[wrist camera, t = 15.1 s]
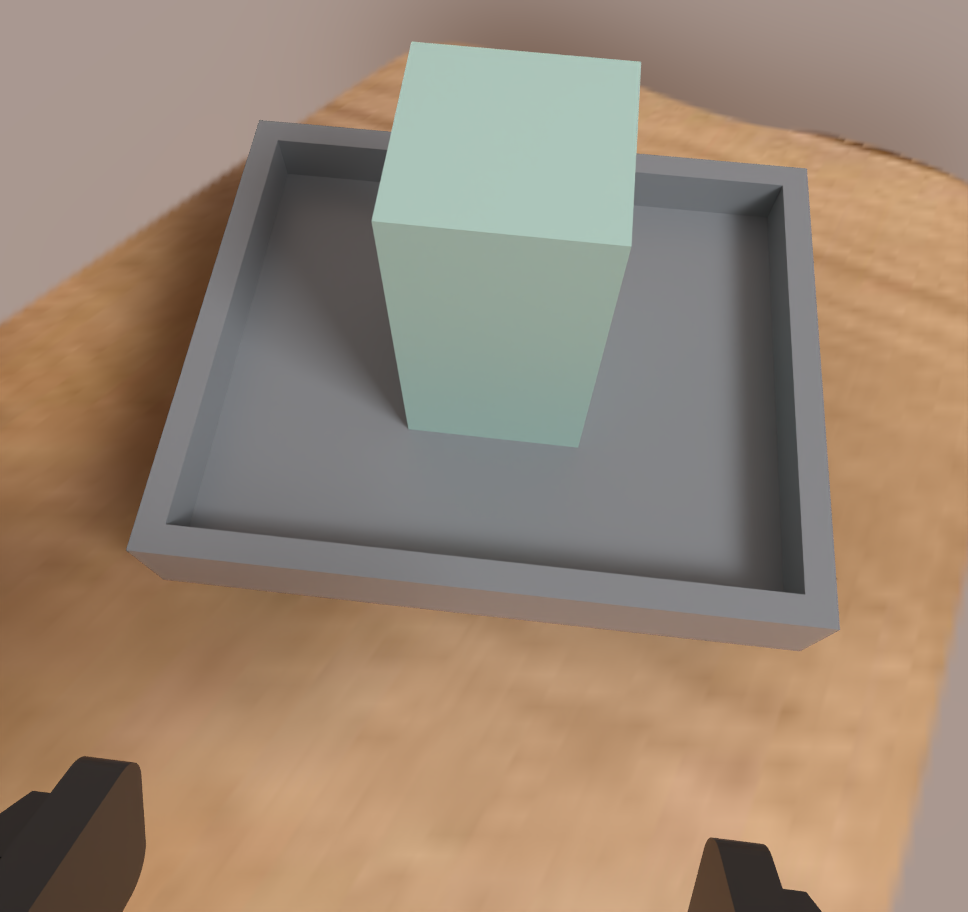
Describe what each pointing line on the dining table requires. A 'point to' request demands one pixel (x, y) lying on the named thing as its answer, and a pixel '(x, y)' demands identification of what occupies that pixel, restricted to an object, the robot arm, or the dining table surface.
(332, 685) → the dining table surface
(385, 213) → the sage part block
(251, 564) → the grey shallow tray
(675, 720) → the dining table surface
